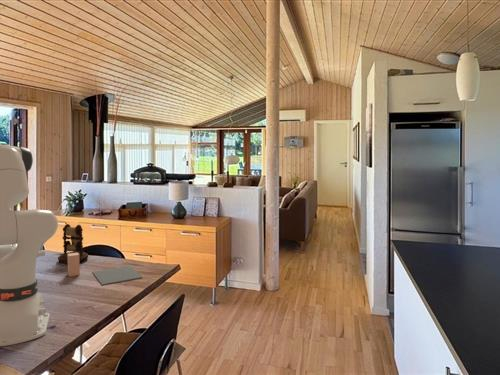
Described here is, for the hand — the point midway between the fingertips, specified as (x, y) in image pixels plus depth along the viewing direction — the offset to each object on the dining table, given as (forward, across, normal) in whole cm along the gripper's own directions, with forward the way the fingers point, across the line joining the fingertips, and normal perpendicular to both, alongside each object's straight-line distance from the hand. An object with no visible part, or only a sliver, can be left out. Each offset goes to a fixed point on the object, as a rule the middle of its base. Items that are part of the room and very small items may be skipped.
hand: (43, 250), depth 163 cm
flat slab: (+29, -13, +13) cm, 34 cm away
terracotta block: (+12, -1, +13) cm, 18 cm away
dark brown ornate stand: (+16, +24, +14) cm, 32 cm away
